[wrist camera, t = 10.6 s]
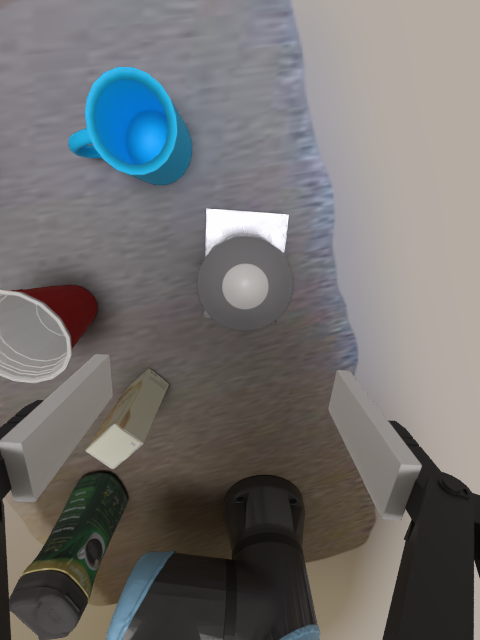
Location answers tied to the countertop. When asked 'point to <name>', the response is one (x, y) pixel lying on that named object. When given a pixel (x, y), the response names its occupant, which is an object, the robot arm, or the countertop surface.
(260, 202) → the countertop surface
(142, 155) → the mug
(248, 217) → the gray flat-based fixture
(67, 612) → the coffee jar
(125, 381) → the countertop surface
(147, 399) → the skincare box
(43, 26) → the countertop surface
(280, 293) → the cap
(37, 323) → the plastic cup
